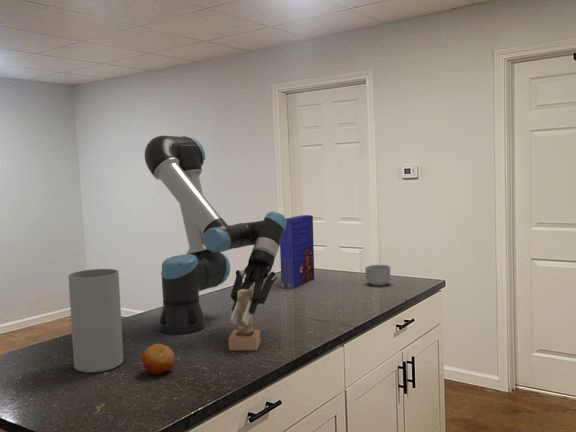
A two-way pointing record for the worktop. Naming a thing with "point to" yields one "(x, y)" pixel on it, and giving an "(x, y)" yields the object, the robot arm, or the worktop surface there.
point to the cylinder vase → (96, 320)
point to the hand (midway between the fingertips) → (238, 322)
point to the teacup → (378, 274)
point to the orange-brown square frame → (244, 340)
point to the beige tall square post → (243, 300)
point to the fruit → (158, 359)
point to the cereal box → (297, 252)
